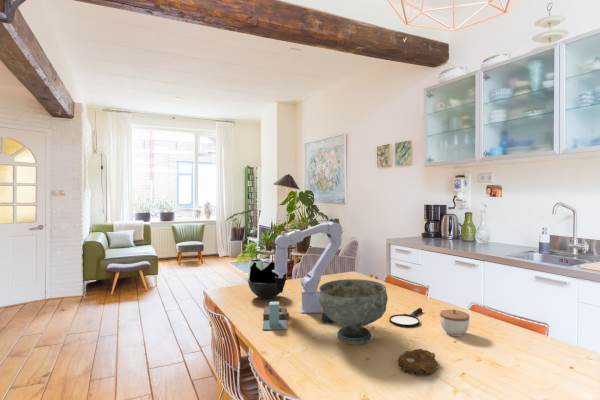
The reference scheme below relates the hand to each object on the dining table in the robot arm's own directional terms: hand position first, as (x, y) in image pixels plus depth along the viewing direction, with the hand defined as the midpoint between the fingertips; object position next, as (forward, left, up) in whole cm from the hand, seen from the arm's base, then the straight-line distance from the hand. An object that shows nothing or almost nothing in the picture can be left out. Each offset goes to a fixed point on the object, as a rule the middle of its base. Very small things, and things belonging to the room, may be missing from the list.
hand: (280, 290), depth 165 cm
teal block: (+2, +16, -10) cm, 19 cm away
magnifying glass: (-57, +11, -11) cm, 60 cm away
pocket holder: (+2, +4, -10) cm, 11 cm away
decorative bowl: (-28, +31, -11) cm, 43 cm away
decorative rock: (-45, +54, -11) cm, 71 cm away
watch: (-22, +12, -11) cm, 27 cm away
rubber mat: (+2, +16, -10) cm, 20 cm away
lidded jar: (-69, +29, -11) cm, 75 cm away
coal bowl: (+7, -24, -11) cm, 27 cm away
